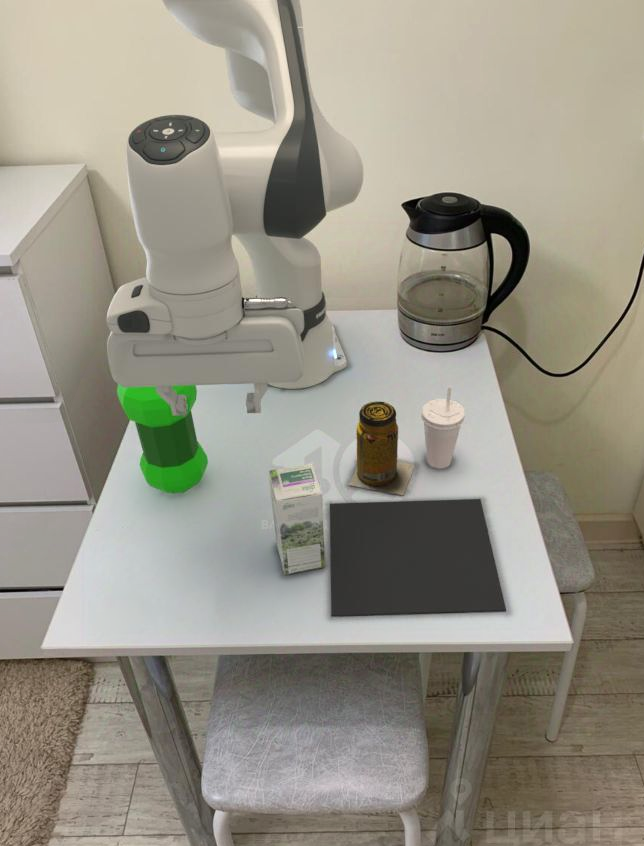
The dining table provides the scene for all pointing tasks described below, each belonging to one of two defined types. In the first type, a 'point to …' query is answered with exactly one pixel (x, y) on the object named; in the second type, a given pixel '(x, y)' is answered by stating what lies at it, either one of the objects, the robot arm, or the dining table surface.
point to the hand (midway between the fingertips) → (217, 411)
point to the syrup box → (298, 518)
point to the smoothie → (441, 429)
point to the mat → (412, 558)
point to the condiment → (379, 451)
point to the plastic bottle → (165, 438)
